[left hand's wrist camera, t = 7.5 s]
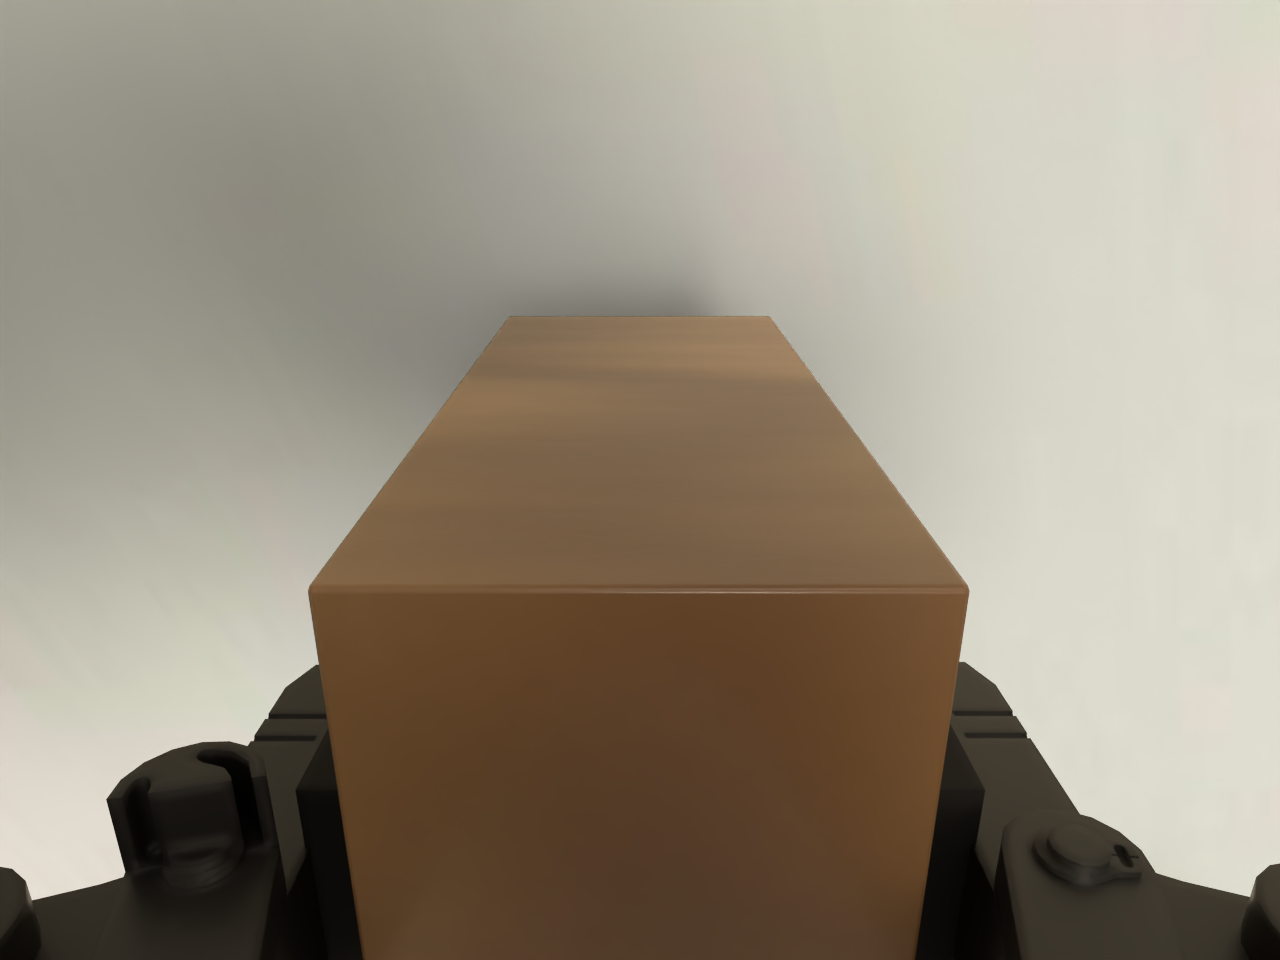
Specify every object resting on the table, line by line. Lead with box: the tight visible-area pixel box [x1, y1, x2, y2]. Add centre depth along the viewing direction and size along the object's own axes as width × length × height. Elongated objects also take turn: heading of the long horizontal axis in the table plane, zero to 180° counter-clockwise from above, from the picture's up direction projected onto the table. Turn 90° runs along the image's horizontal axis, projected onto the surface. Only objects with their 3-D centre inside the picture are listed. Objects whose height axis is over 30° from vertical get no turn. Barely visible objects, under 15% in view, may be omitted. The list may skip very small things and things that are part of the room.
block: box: [308, 316, 969, 960], centre depth 13 cm, size 5×8×11 cm, turn 0°
